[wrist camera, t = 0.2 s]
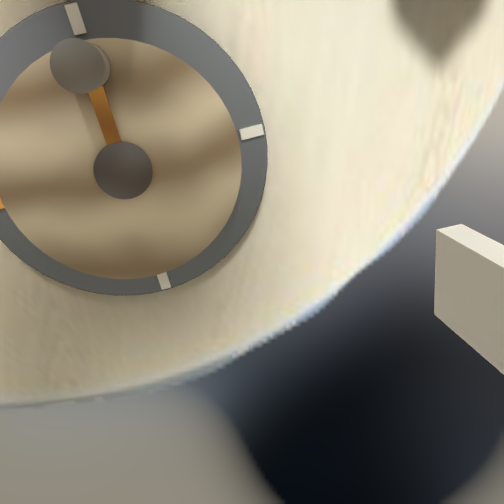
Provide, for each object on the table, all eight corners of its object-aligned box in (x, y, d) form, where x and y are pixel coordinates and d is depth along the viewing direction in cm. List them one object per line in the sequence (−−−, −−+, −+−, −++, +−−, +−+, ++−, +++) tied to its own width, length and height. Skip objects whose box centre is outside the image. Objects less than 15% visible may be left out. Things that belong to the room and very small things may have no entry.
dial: (-47, 71, 30) (-100, 74, 23) (206, 14, 31) (221, 1, 25) (55, 293, 37) (35, 341, 30) (256, 236, 38) (278, 270, 32)
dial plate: (-95, 40, 30) (-109, 38, 28) (228, -31, 32) (233, -36, 30) (40, 318, 39) (36, 329, 37) (285, 247, 41) (290, 254, 40)
